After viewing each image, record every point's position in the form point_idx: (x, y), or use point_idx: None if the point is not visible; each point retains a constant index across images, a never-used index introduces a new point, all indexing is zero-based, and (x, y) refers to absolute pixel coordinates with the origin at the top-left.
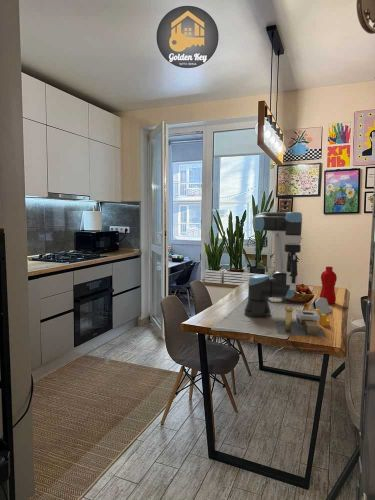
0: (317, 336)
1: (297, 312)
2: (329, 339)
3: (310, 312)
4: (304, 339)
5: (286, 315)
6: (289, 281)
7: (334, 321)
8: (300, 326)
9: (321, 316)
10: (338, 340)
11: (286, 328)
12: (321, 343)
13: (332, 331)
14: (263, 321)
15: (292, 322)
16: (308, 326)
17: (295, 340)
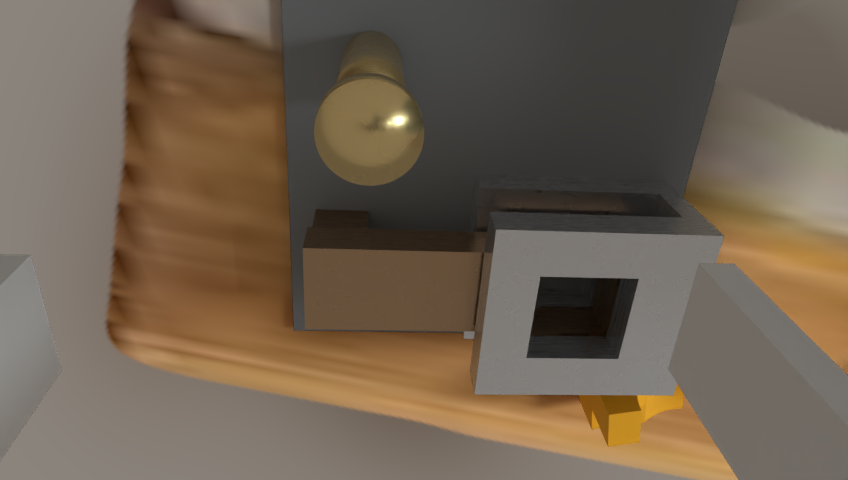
0: (298, 277)
1: (639, 230)
2: (277, 340)
3: (622, 345)
4: (220, 169)
5: (350, 74)
6: (722, 375)
7: (705, 449)
8: (477, 194)
9: (610, 402)
10: (271, 387)
11: (348, 47)
12: (164, 273)
13: (467, 393)
14: None
15: (667, 151)
16: (304, 252)
17: (167, 89)
